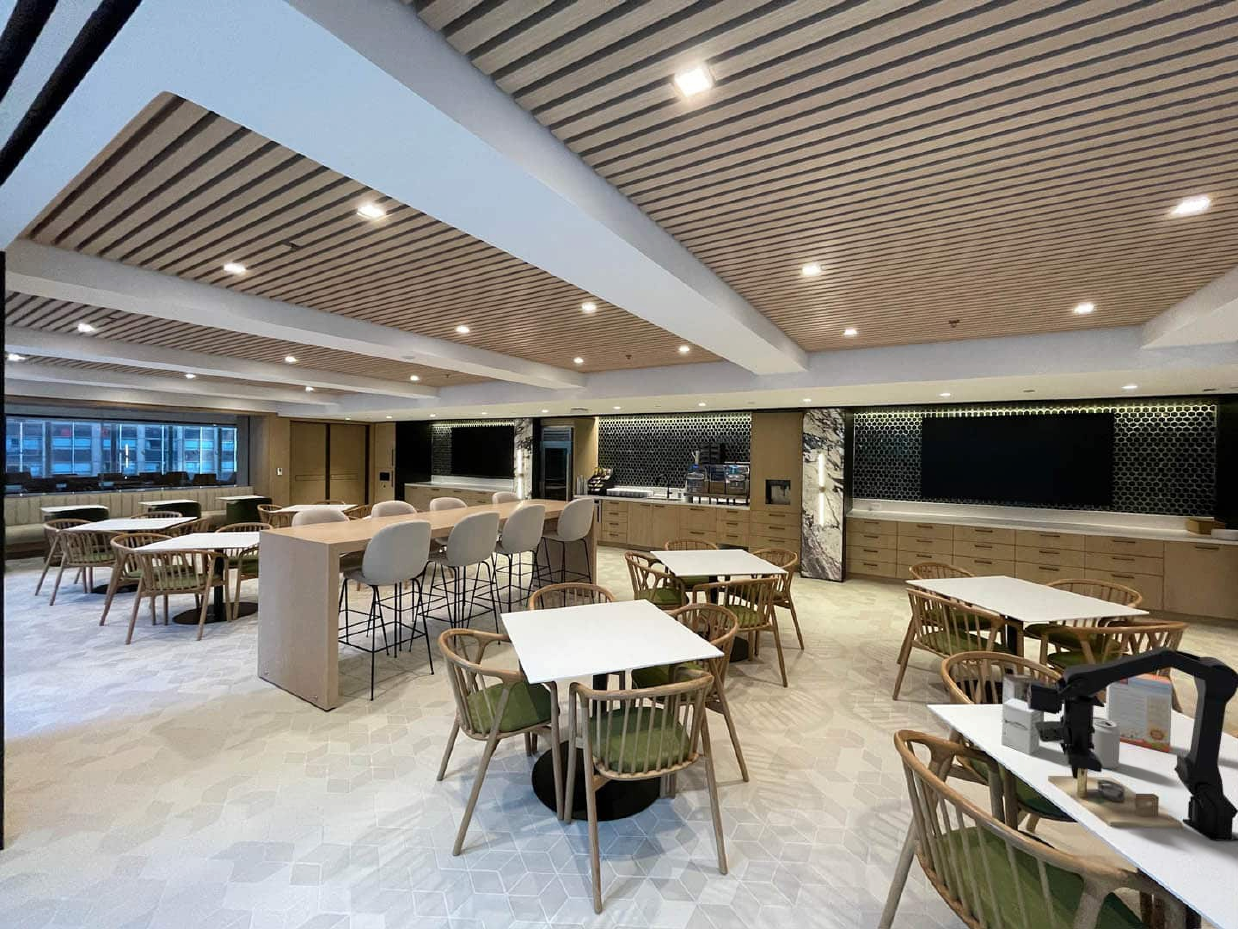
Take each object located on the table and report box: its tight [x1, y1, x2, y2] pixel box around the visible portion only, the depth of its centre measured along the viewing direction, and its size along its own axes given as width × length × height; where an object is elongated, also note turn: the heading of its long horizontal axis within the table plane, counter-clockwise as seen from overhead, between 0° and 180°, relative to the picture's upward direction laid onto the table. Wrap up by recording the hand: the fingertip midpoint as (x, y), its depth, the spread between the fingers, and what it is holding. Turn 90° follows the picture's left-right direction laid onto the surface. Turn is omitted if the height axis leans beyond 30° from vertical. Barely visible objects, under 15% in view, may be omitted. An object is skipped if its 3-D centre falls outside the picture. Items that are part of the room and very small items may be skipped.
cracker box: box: [1105, 673, 1173, 754], centre depth 166 cm, size 14×6×21 cm, turn 53°
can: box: [1091, 715, 1121, 770], centre depth 153 cm, size 8×8×12 cm
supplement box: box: [1000, 698, 1041, 756], centre depth 161 cm, size 7×7×13 cm
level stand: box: [1047, 775, 1183, 829], centre depth 135 cm, size 18×17×6 cm
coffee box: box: [1001, 673, 1045, 723], centre depth 172 cm, size 9×6×16 cm
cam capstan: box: [1077, 767, 1125, 803], centre depth 135 cm, size 11×5×7 cm, turn 92°
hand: (1075, 778), depth 138 cm, fingers closed
